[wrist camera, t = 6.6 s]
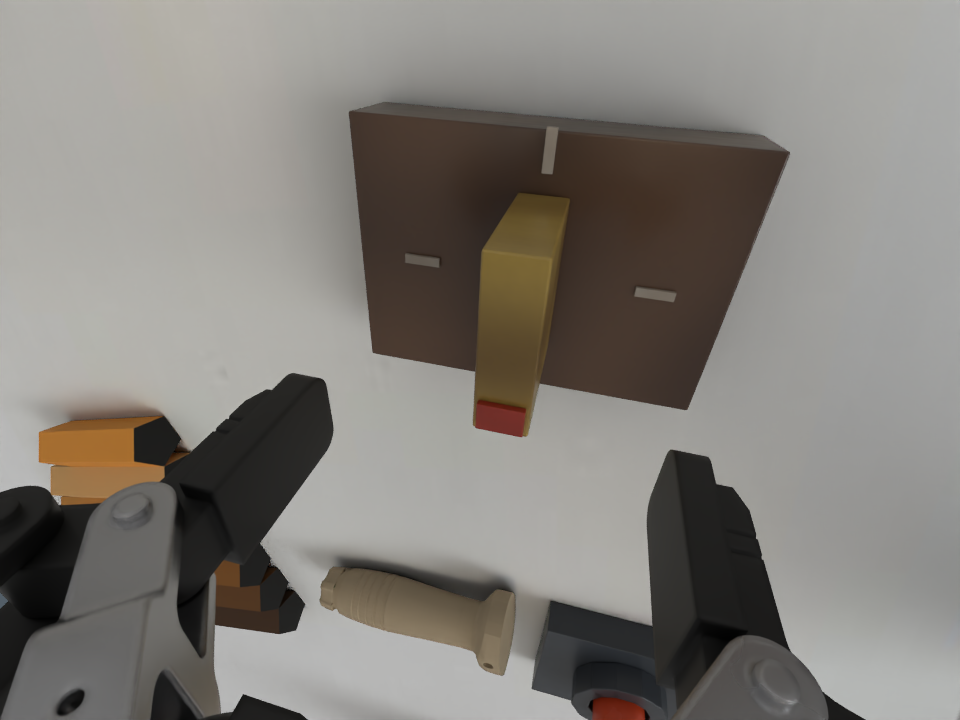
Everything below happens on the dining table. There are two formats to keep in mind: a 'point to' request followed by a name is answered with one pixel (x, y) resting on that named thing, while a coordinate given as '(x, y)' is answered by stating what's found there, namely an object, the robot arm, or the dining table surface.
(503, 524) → the dining table surface
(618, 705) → the button
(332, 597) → the handle
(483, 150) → the panel
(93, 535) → the robot arm
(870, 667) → the dining table surface
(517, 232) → the lock knob
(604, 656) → the button housing
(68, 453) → the pan flute
